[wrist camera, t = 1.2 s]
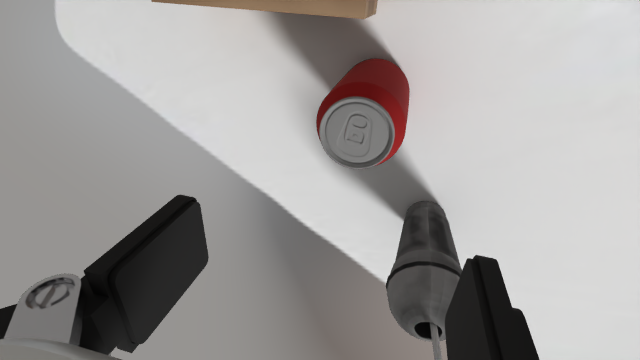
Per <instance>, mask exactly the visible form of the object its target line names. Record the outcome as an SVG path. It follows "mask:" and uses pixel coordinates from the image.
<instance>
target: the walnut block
mask: <svg viewBox="0 0 640 360" xmlns="http://www.w3.org/2000/svg"><path fill="white" fill-rule="evenodd" d="M152 2H161V3H174V4H186V5H198V6H211V7H223V8H235V9H247V10H260V11H272V12H284V13H297V14H309V15H321V16H333V17H346V18H358V19H366V18H368V17H370V16H372V15H374V14H376V8H377V0H152Z"/></svg>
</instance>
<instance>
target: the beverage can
mask: <svg viewBox="0 0 640 360" xmlns="http://www.w3.org/2000/svg"><path fill="white" fill-rule="evenodd" d="M408 106H409V84H408V81H407V78H406V76H405V74H404V73H403V71H402V70H401V69H400V68H399V67H398V66H396V65H395V64H394V63H392V62H390V61H387V60H384V59H368V60H365V61H362V62H360V63H358V64H357V65H355V66H354V67H353V68H352V69H351V70H350V71H349V72H348V73H347V74H346V75H345V76H344V77H343V78H342V79H341V80H340V81H339V83H338V84H337V85H336V86H335V87H334V88H333V89H332V90H331V92H330V93H329V94H328V95H327V96H326V97H325V99H324V100H323V102H322V103H321V105H320V108H319V110H318V114H317V121H316V124H317V132H318V136H319V139H320V141H321V144H322V146H323V148H324V150H325V152H326V153H327V154H328V155H329V157H330V158H331V159H333V160H334V161H335V162H337V163H338V164H340V165H342V166H345V167H348V168H352V169H365V168H369V167H372V166H375V165H378V164H381V163H383V162H385V161H386V160H388V159H389V158H391V157H392V156H393V155H394V154H395V153H396V152H397V150H398V149H399V147H400V146H401V144H402V142H403V139H404V136H405V130H406V123H407V115H408Z"/></svg>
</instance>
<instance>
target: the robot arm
mask: <svg viewBox="0 0 640 360" xmlns="http://www.w3.org/2000/svg"><path fill="white" fill-rule="evenodd" d="M207 262H208V250H207V245H206V238H205V232H204V226H203V220H202V214H201V207H200V204H199V203H198V202H197V200H196V199H195V198H194V197H189V196H184V195H177V196H176V197H174V198H173V199H172V200H171V201H169V202H168V203H167V204H166V205H164V206H163V207H162V208H161V209H159V210H158V211H157V212H156V213H155V214H153V215H152V216H151V217H150V218H148V219H147V220H146V221H145V222H143V223H142V224H141V225H140V226H138V227H137V228H136V229H135V230H134V231H132V232H131V233H130V234H128V235H127V236H126V237H125V238H124V239H122V240H121V241H120V242H119V243H117V244H116V245H115V246H114V247H112V248H111V249H110V250H109V251H107V252H106V253H105V254H104V255H103V256H101V257H100V258H99V259H98V260H96V261H95V262H94V263H93V264H91V265H90V266H89V267H88V268H86V269H85V270H84V273H85V276H84V277H83V278H81V279H80V278H79V277H78V276H76V275H73V274H59V275H54V276H51V277H48V278H45V279H43V280H41V281H39V282H37V283H36V284H34V285H33V286H31V287H30V288H29V289H28V290H27V291H25V293H23V295H22V296H21V298H20V299H19V301H18V304H16V305H12V306H8V307H5V308H2V309H0V360H121V359H118V358H115V357H112V356H111V352H112V351H113V349H114V348H115V347H116V346H117V348H118V349H120V350H124V351H127V352H130V353H132V352H133V351H134V350H135V349H136V347H137V346H138V345H139V344H142V343H144V342H145V341H146V340H147V339H148V337H149V336H150V335H151V334H152V333H153V331H154V330H155V329H156V328H157V326H158V325H159V324H160V322H161V321H162V320H163V319H164V318H165V316H166V315H167V314H168V313H169V311H170V310H171V308H172V307H173V306H174V305H175V304H176V302H177V301H178V300H179V299H180V297H181V296H182V295H183V294H184V292H185V291H186V290H187V289H188V287H189V286H190V285H191V284H192V282H193V281H194V280H195V279H196V277H197V276H198V275H199V274H200V272H201V271H202V270H203V269H204V267H205V266H206V264H207ZM445 335H446V345H447V356H448V360H539V357H538V354H537V351H536V348H535V345H534V343H533V340H532V337H531V334H530V331H529V328H528V325H527V322H526V319H525V317H524V315H523V313H522V311H521V310H520V309H516V308H512V306H511V303H510V300H509V296H508V293H507V290H506V287H505V284H504V281H503V277H502V274H501V271H500V268H499V265H498V262H497V260H496V259H493V258H488V257H483V256H478V255H475V256H474V258H473V259H470V258H468V259H467V260H466V263H465V265H464V268H463V271H462V273H461V276H460V279H459V281H458V284H457V286H456V289H455V292H454V294H453V297H452V300H451V302H450V305H449V308H448V310H447V313H446V316H445Z"/></svg>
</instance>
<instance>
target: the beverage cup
mask: <svg viewBox="0 0 640 360" xmlns="http://www.w3.org/2000/svg"><path fill="white" fill-rule="evenodd" d="M461 273H462V269H461V267H460V263H459V260H458V256H457V252H456V249H455V245H454V241H453V238H452V234H451V230H450V227H449V223H448V220H447V218H446V215H445V212H444V210H443V209H442V208H441V207H440V206H439V205H437V204H436V203H434V202H429V201H421V202H418V203H415V204H413V205H412V206H410V208H409V209H408V210H407V214H406V217H405V220H404V224H403V229H402V233H401V238H400V243H399V247H398V252H397V256H396V261H395V263H394V265H393V268H392V270H391V273H390V275H389V277H388V279H387V283H386V289H387V296H388V301H389V307H390V310H391V313H392V314H393V316H394V318H395V319H396V321H397V323H398V324H399V325H400V326H401V327H402V328H403V329H404V330H405V331H406V332H407V333H409V334H410V335H412V336H414V337H416V338H418V339H421V340H424V341H432V344H433V351H434V359H435V360H442V355H441V349H440V342H439V341H443V340H445V339H446V335H445V316H446V313H447V310H448V308H449V305H450V302H451V300H452V297H453V294H454V292H455V289H456V286H457V284H458V281H459V279H460V276H461Z"/></svg>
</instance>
